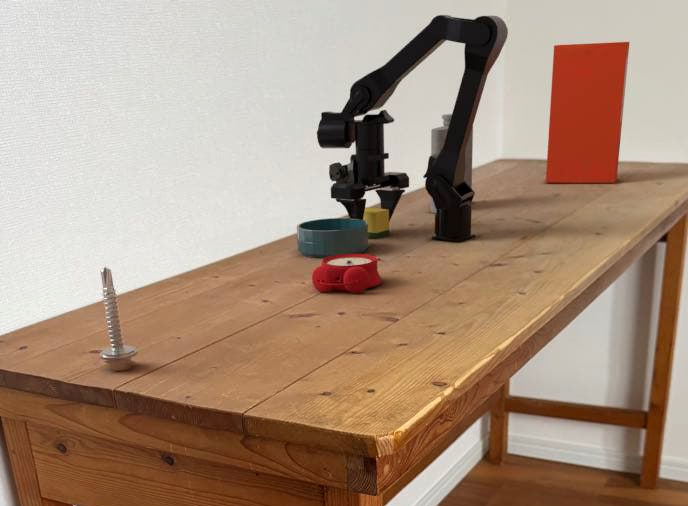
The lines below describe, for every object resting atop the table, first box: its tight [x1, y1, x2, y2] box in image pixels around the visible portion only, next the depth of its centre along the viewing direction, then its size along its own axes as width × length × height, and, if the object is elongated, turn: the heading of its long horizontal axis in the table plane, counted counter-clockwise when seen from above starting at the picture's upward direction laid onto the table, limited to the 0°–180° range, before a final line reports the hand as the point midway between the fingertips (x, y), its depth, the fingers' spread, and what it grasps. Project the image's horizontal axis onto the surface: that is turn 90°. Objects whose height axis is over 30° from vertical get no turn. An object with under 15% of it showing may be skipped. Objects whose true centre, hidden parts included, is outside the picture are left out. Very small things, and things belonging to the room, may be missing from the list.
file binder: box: [545, 41, 630, 184], centre depth 239 cm, size 8×17×32 cm, turn 71°
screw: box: [99, 266, 138, 372], centre depth 120 cm, size 13×5×5 cm
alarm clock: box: [311, 253, 382, 294], centre depth 155 cm, size 10×6×15 cm
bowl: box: [296, 217, 370, 259], centre depth 182 cm, size 14×14×5 cm
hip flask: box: [430, 113, 474, 214], centre depth 216 cm, size 16×4×20 cm, turn 144°
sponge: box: [363, 207, 390, 239], centre depth 194 cm, size 6×4×5 cm
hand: (371, 229), depth 195 cm, fingers open, 9 cm apart
